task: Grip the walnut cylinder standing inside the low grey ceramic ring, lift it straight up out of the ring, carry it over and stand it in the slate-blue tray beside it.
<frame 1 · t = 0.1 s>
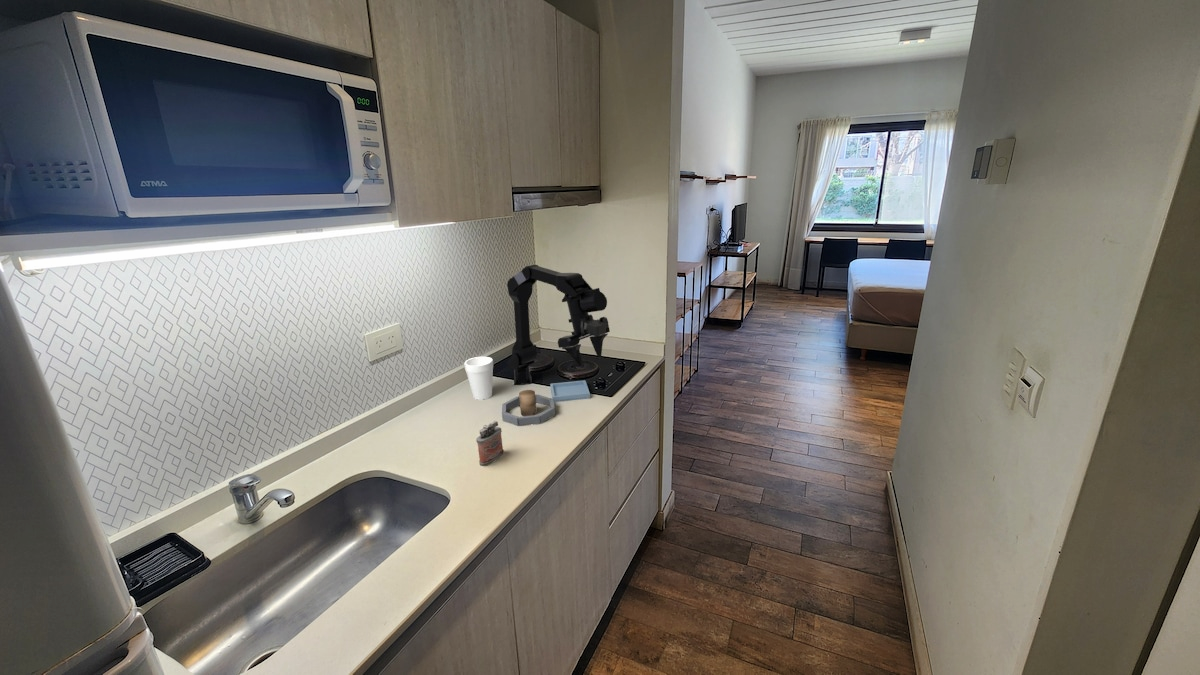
hand: (590, 361, 155), 15 cm above the counter, tool pointing down, fingers open, 9 cm apart
holder ring: (528, 412, 156), on the counter
walnut cylinder: (528, 413, 156), resting in holder ring
foam cup: (482, 396, 170), on the counter
tray: (569, 393, 169), on the counter
lighter: (492, 459, 131), on the counter
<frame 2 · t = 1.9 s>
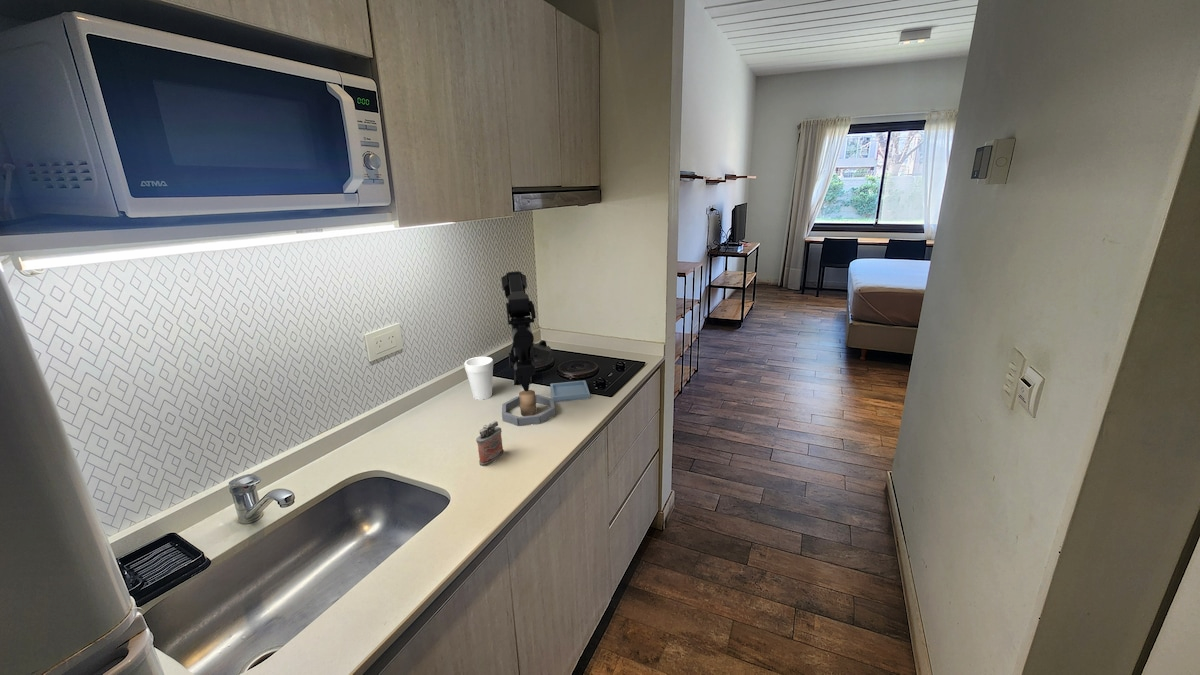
hand: (526, 385, 153), 10 cm above the counter, tool pointing down, fingers open, 9 cm apart
nothing on the counter moved.
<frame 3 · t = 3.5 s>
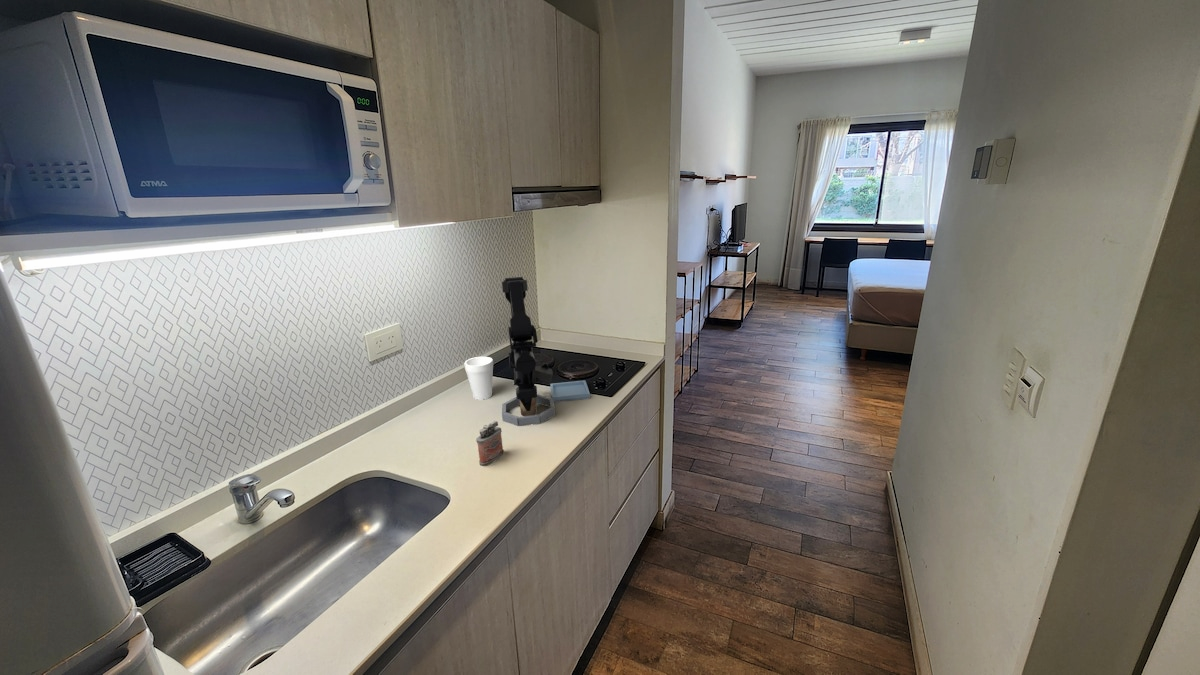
hand: (528, 407, 155), 2 cm above the counter, tool pointing down, fingers closed on walnut cylinder, 5 cm apart
walnut cylinder: (528, 413, 156), resting in holder ring, touching gripper
everything else where it was.
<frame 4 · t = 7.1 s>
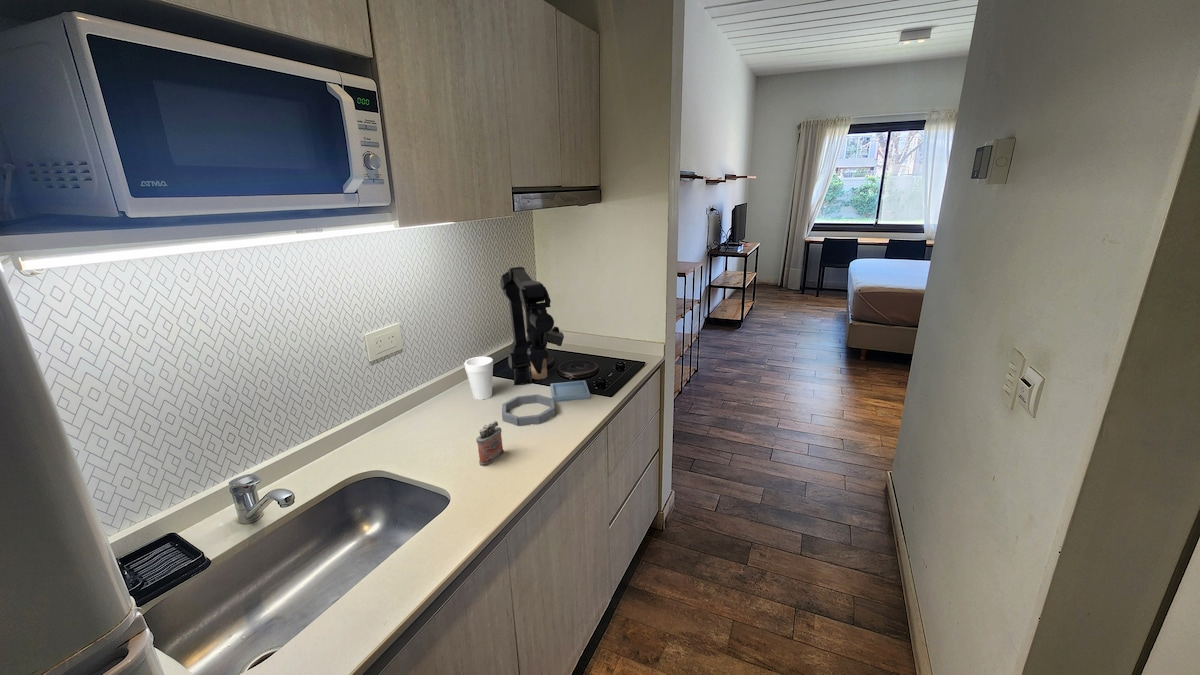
hand: (539, 370, 156), 13 cm above the counter, tool pointing down, fingers closed on walnut cylinder, 5 cm apart
walnut cylinder: (539, 376, 157), point 11 cm above the counter, touching gripper
everything else where it was.
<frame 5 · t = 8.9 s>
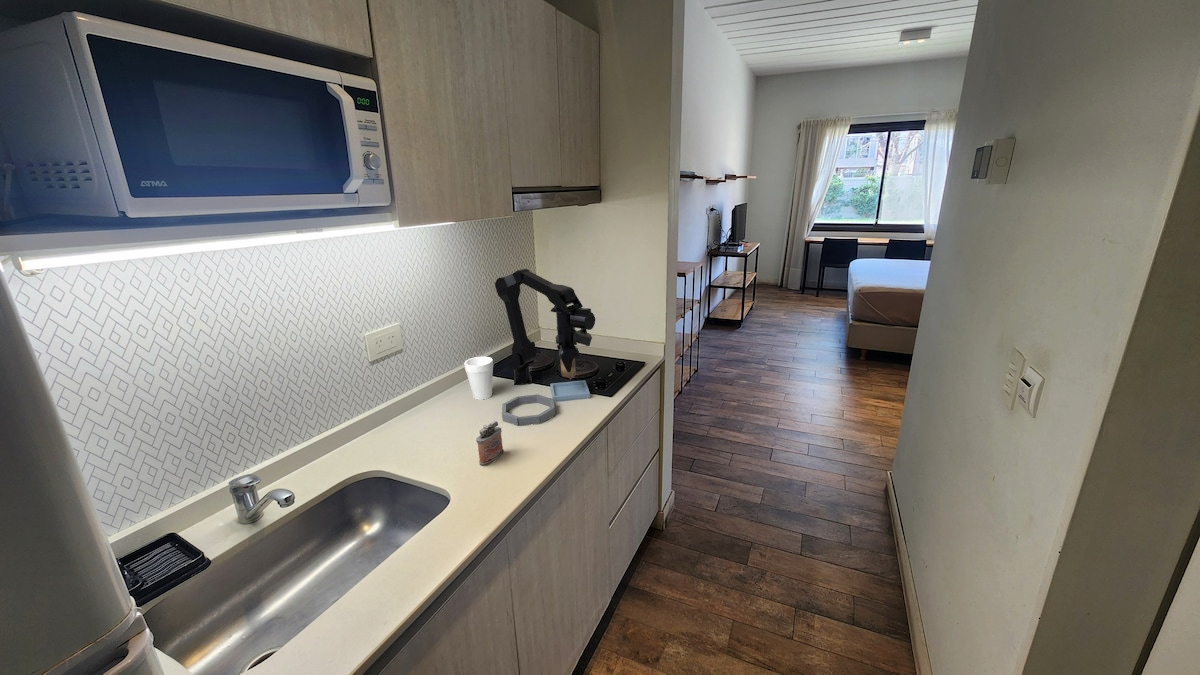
hand: (568, 369, 167), 9 cm above the counter, tool pointing down, fingers closed on walnut cylinder, 5 cm apart
walnut cylinder: (568, 374, 167), point 7 cm above the counter, touching gripper
everything else where it was.
when the fingers open (4 cm above the counter, at t = 10.6 s): walnut cylinder stays where it is, resting on tray.
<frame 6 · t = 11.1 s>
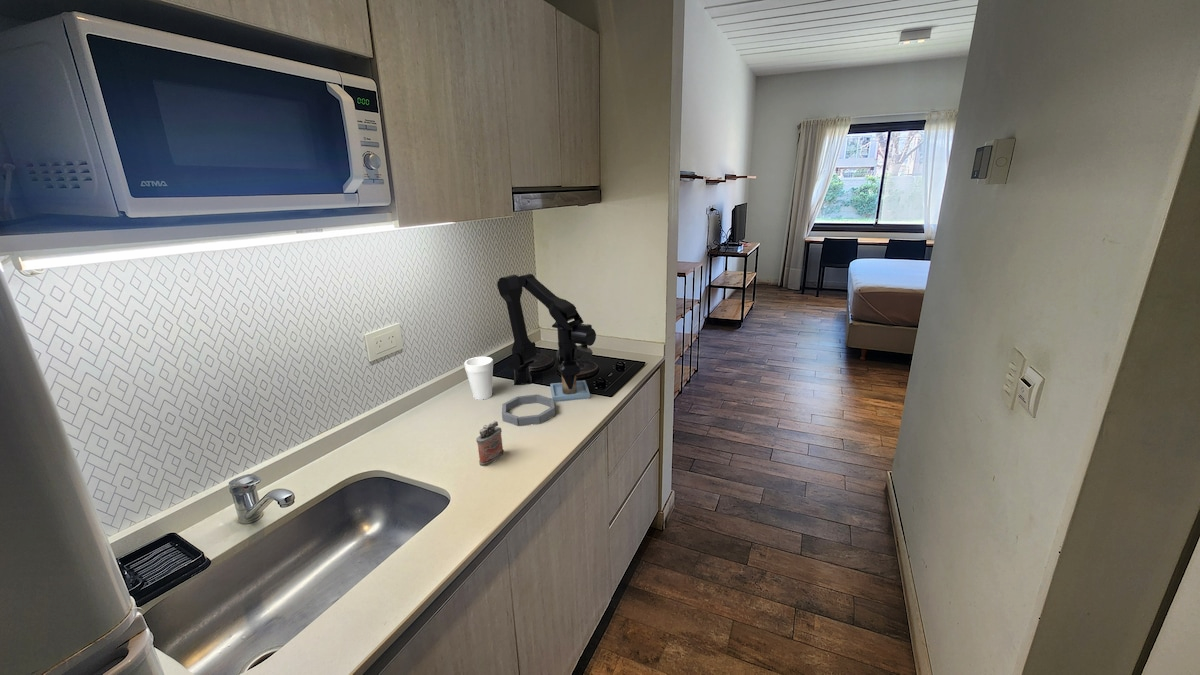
hand: (569, 383, 168), 4 cm above the counter, tool pointing down, fingers open, 9 cm apart
walnut cylinder: (569, 391, 169), point 1 cm above the counter, touching tray
everything else where it was.
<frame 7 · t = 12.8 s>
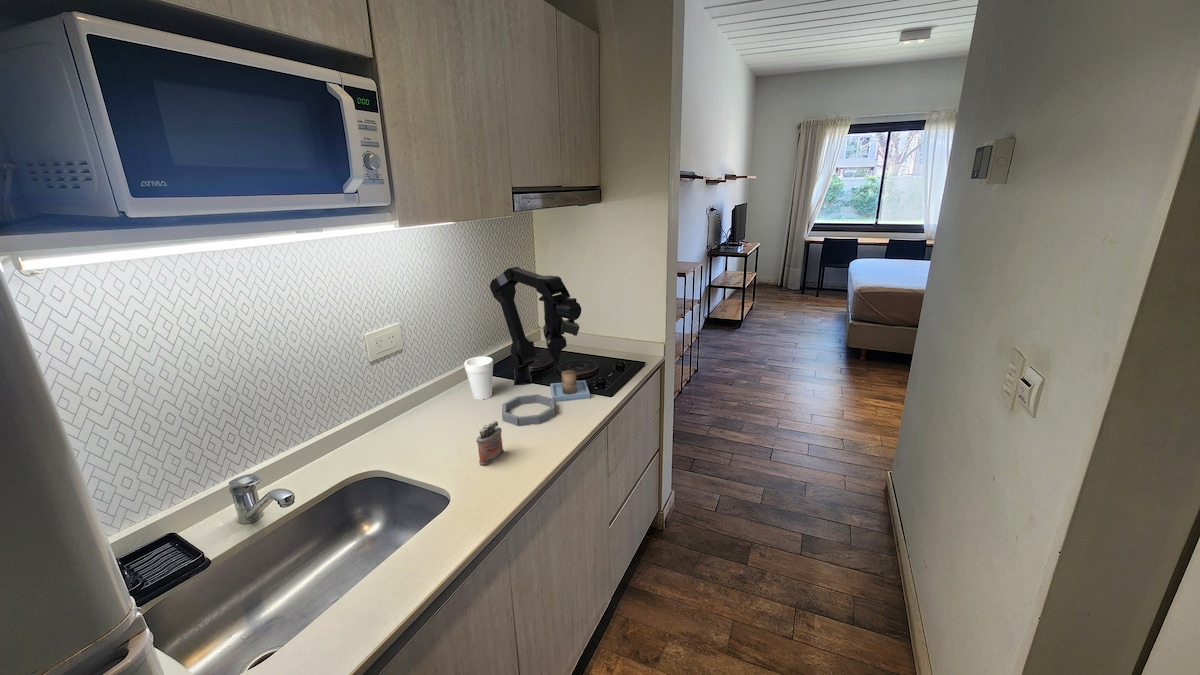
hand: (555, 358, 166), 13 cm above the counter, tool pointing down, fingers open, 9 cm apart
nothing on the counter moved.
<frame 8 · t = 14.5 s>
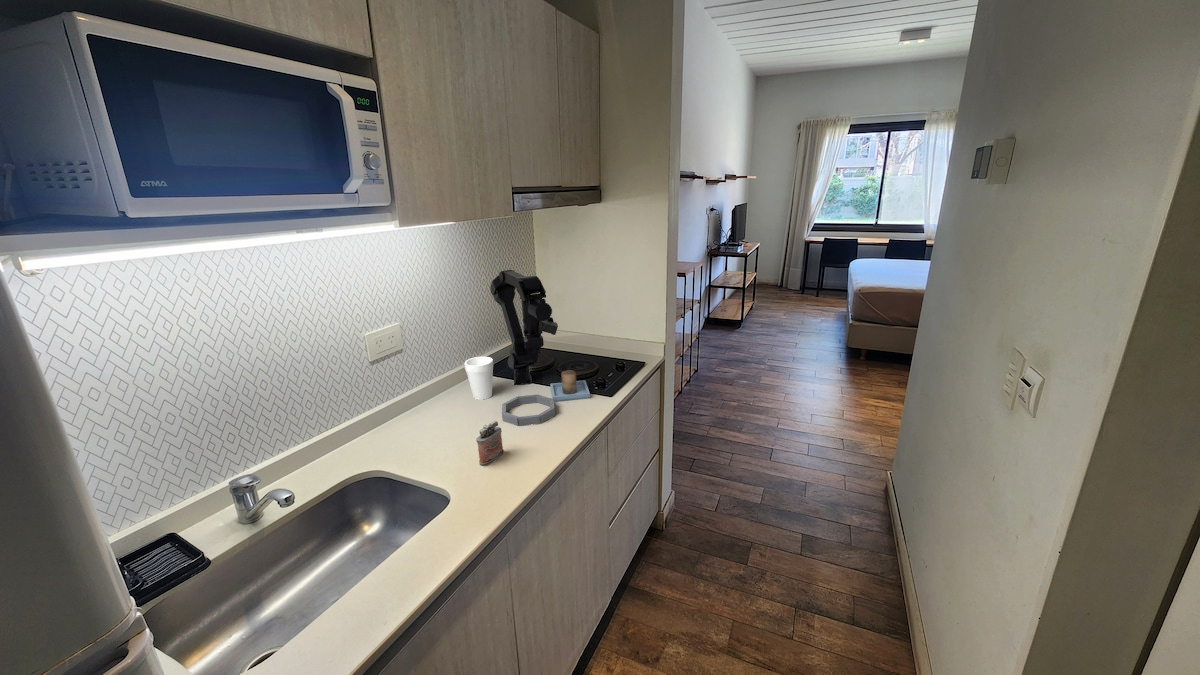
hand: (534, 358, 167), 13 cm above the counter, tool pointing down, fingers open, 9 cm apart
nothing on the counter moved.
at the end: walnut cylinder inside the target area on the tray (0.0 cm from its centre), point 0.6 cm above the tray's base; walnut cylinder tilted 1°; the gripper is holding nothing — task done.
